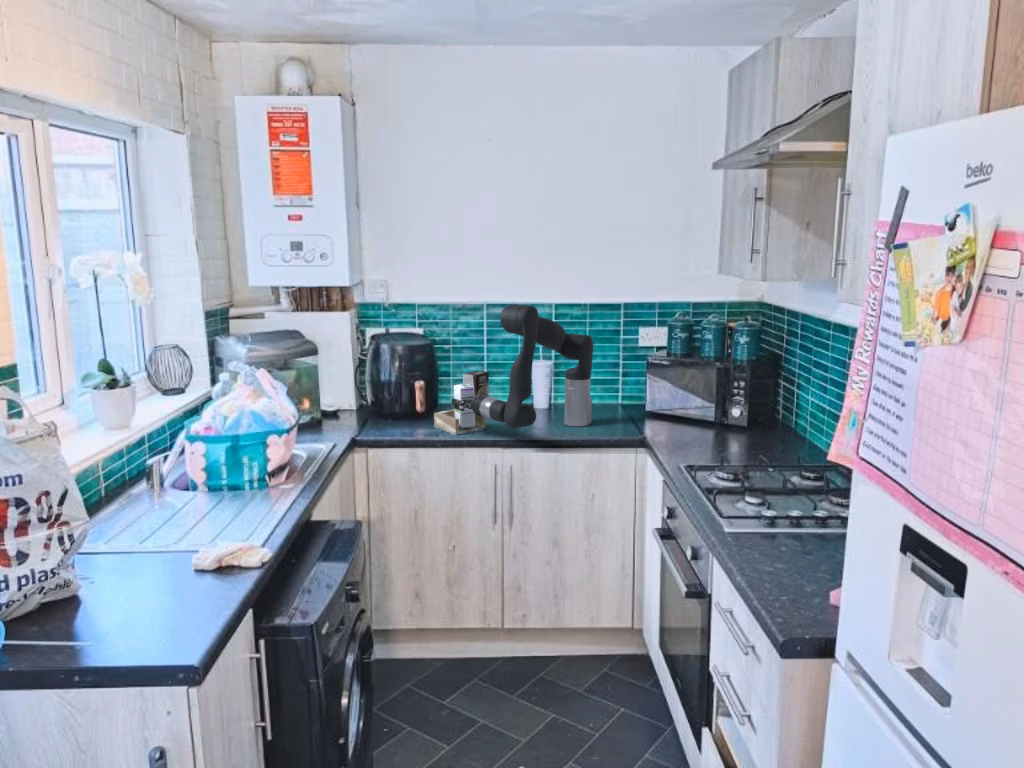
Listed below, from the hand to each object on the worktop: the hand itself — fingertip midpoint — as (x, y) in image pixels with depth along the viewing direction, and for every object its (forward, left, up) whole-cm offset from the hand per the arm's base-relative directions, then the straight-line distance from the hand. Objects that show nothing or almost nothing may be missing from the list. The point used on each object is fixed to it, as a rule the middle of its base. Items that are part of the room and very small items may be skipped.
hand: (460, 400), depth 272 cm
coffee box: (-19, -17, -11) cm, 28 cm away
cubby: (0, -1, -11) cm, 11 cm away
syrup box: (0, +2, -9) cm, 9 cm away
